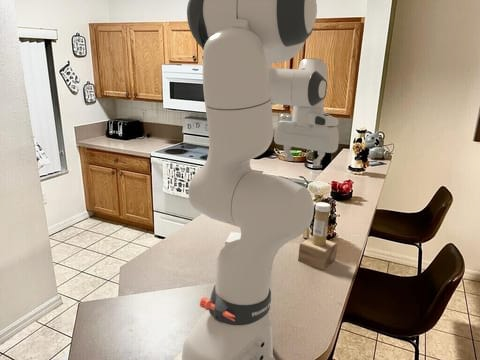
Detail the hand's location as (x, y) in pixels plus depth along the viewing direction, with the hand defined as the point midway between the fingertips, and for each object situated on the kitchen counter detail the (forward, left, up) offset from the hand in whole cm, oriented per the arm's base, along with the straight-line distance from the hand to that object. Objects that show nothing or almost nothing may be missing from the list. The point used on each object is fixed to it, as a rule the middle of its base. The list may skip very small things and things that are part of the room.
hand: (302, 162), depth 110 cm
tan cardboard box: (+5, -6, -33) cm, 33 cm away
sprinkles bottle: (+5, -6, -26) cm, 28 cm away
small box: (-18, +10, -33) cm, 39 cm away
